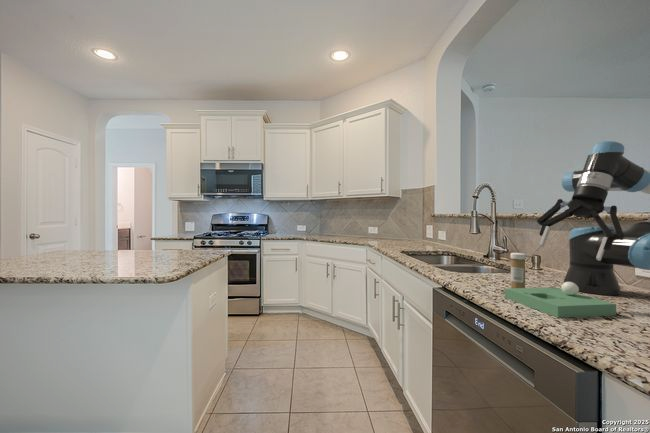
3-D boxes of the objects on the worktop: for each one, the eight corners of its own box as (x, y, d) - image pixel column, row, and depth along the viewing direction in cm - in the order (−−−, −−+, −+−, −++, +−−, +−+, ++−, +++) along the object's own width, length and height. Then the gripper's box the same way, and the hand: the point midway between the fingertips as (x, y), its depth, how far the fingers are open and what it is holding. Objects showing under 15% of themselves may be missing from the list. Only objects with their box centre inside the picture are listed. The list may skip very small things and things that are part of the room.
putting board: (553, 296, 93) (553, 287, 93) (616, 315, 75) (616, 304, 75) (504, 297, 90) (504, 288, 90) (557, 317, 73) (557, 306, 73)
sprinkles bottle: (527, 290, 99) (527, 253, 99) (522, 292, 97) (522, 254, 97) (513, 288, 103) (513, 252, 103) (507, 289, 100) (508, 253, 101)
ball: (569, 293, 85) (569, 280, 85) (582, 296, 82) (582, 283, 82) (557, 293, 85) (557, 280, 85) (570, 297, 81) (570, 283, 81)
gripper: (541, 180, 93) (518, 237, 92) (652, 189, 73) (626, 262, 72) (545, 189, 98) (524, 244, 96) (652, 200, 78) (627, 269, 77)
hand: (567, 252), depth 84 cm, fingers open, 13 cm apart
